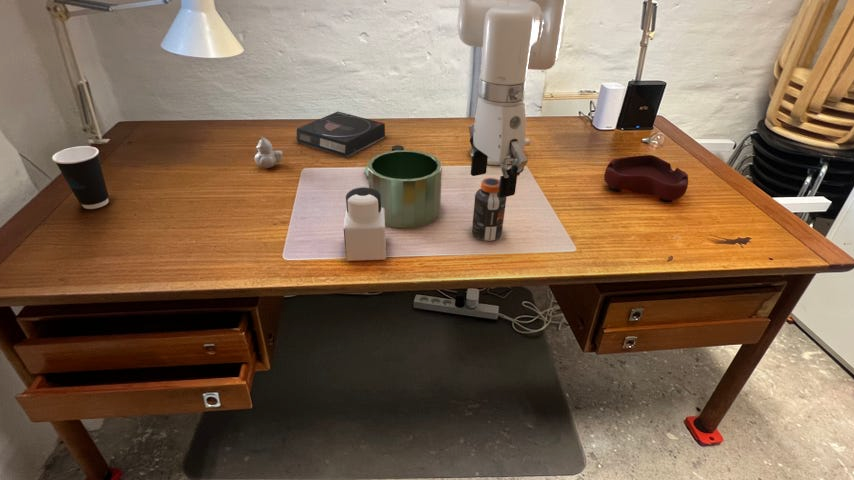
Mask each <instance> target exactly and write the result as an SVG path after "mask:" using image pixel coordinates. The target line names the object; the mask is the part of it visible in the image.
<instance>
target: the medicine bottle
mask: <svg viewBox="0 0 854 480" xmlns="http://www.w3.org/2000/svg"><path fill="white" fill-rule="evenodd" d="M345 205H346V209H345V210H344V219H343V220H344V221H343V236H344V237H343V239H344V251H345V260H346V261H348V262H352V261H356V262H357V261H385V260H386V258H387V251H386V250H387V247H386V246H387V244H386V243H387V242H386V241H387V240H386V226H385V210H384V208H381V195H380V193H379V192H378V191H377V190H375V189H372V188H369V187H365V186H364V187H355V188H352V189H351V190H349V191H348V192H347V193H346V195H345Z"/></svg>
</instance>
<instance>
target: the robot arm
mask: <svg viewBox="0 0 854 480" xmlns="http://www.w3.org/2000/svg"><path fill="white" fill-rule="evenodd" d="M566 4H567V0H459V5H458V13H457V33H458V37H459V39H460V41H461V42H462V43H463V44H465V45H467V46H469V47H477V48H481V62H480V63H481V64H480V75H479V87H478V99H477V103H476V108H475V116H474V123H473V124H471V125H469V126H468V132H469V133H468V134H469V137H470V138H469V143H470V146H471V149H470V157H471V164H470V175H471V176H472V177H477V176H482V175H486V174H487V171H488V170H487V169H488V165H490V166H500V169H501V173H502V175H500V178H499V180H500V184H499V193H498V196H499V197H500V198H503V197H506V198H507V197H512V196H514V195H515V194H516V188H517V181H518V177H519V176H520V175H521V173H523V172H524V170H525V167H526V165H527V163H528V162H529V161H528V159H529V158H528V157H527V155H526V153H525V152H524V151H525V147H527V146H530V145H531V139H530V138H529V137H526V129H527V128H526V127H527V114H526V113H527V112H526V104H525V103H524V100H525V91H526V85H527V76H528V71H529V70H535V71H536V70H537V71H539V70H540V71H545V70H546V71H547V70H550V69H552V68H553V67H554V66H555V64H556V62H557V59H558V56H559V51H560V45H561V38H562V30H563V24H564V19H565V18H564V16H565V11H566ZM508 165H511V167H509V168H508Z"/></svg>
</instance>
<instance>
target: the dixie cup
mask: <svg viewBox="0 0 854 480" xmlns="http://www.w3.org/2000/svg"><path fill="white" fill-rule="evenodd" d="M99 153H100V151H99V149H98V148H97V147H94V146H90V145H89V146H88V145H84V146H83V145H81V146H80V145H79V146H72V147H69V148H64V149H62V150H59V151H57V152H56V153H54V154H53V155H52V157H51V160H52V161H53V162H54V163H55V164H56V165H57V168H58V169H59V170H60V172H61V174H62V176H63V177H64V179H65V181H66V182H67V185H68V186H69V188H70V190H71V191H72V193H73V194H74V196H75V198H76V200H77V201H78V203H79V204H81V207H83V208H84V209H87V210H93V209H99V208H102V207H104V206H107V204H108V203H109V202H110V201H109V192H108V188H107V183H106V180H105V176H104V172H103V168H102V164H101V160H100V156H99Z"/></svg>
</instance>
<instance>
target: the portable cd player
mask: <svg viewBox="0 0 854 480" xmlns="http://www.w3.org/2000/svg"><path fill="white" fill-rule="evenodd" d="M295 139H296V141H297V142H298V144H301V145H304V146H307V147H310V148H314V149H316V150H320V151H323V152H327V153H330V154H334V155H337V156H340V157H343V158H349V157H351V156H353V155H355V154H357V153H359V152H360V151H362V150H364V149H366V148H368V147H370V146H372V145H374V144H376V143H377V142H380V141H381V140H384V139H386V123H385V122H380V121H376V120H373V119H369V118H366V117H361V116H357V115H354V114H350V113H346V112H342V111H336V112H332V113H331V114H328V115H326V116H324V117H321V118H318V119H316V120H314V121H311V122H309V123H306V124H304V125H301V126H299V127H296V138H295Z"/></svg>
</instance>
